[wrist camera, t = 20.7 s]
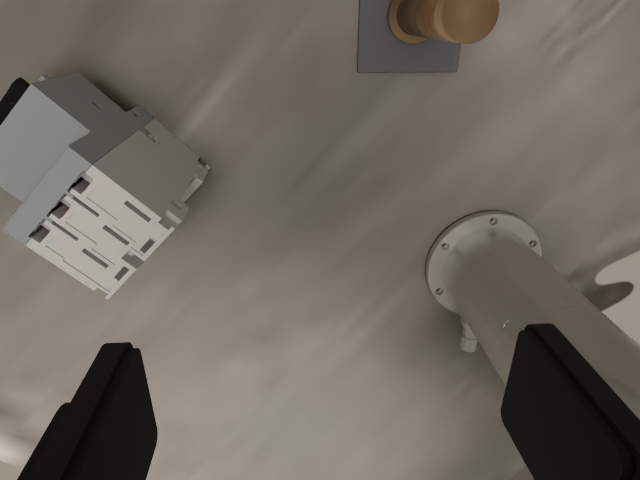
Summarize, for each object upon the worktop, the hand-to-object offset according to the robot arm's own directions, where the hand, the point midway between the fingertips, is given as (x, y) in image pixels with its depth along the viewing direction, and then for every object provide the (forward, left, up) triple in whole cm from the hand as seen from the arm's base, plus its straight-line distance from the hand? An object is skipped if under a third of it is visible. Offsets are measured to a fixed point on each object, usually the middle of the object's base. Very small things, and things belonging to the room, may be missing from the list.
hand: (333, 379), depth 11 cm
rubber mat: (+8, -10, -34) cm, 37 cm away
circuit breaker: (-2, +16, -34) cm, 38 cm away
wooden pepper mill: (+9, -10, -34) cm, 36 cm away
